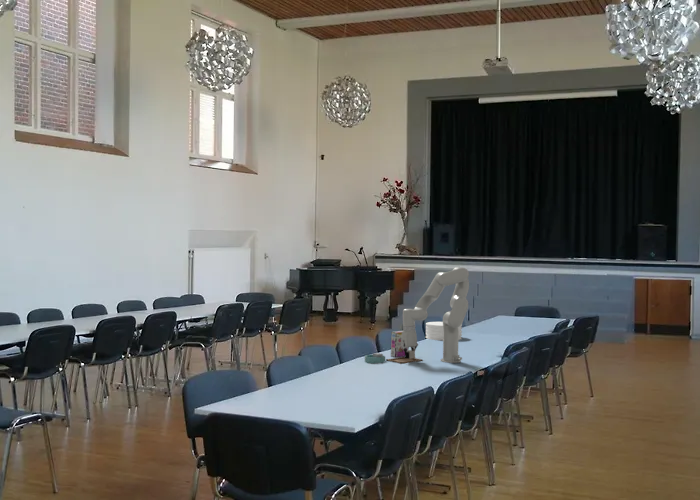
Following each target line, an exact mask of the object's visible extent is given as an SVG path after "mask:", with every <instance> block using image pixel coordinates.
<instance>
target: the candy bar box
mask: <svg viewBox="0 0 700 500" xmlns="http://www.w3.org/2000/svg"><path fill="white" fill-rule="evenodd" d="M402 331H403V330H398V331H391V335H390V336H391V338H390V357H392V358H400V357H405V352H404V350H403V349H402V348H401V336H402ZM406 349H407V348H406Z"/></svg>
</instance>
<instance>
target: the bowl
mask: <svg viewBox="0 0 700 500" xmlns="http://www.w3.org/2000/svg"><path fill="white" fill-rule="evenodd" d="M364 362H365V363H367V364H378V363H379V364H380V363H385V362H386V356H385V355H384V354H383V357H373V354H366V355H364Z"/></svg>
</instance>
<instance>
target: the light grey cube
mask: <svg viewBox="0 0 700 500" xmlns="http://www.w3.org/2000/svg"><path fill="white" fill-rule="evenodd" d="M372 355H373V357H383V355H384V354H383V353H379V352H375V353H372Z"/></svg>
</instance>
